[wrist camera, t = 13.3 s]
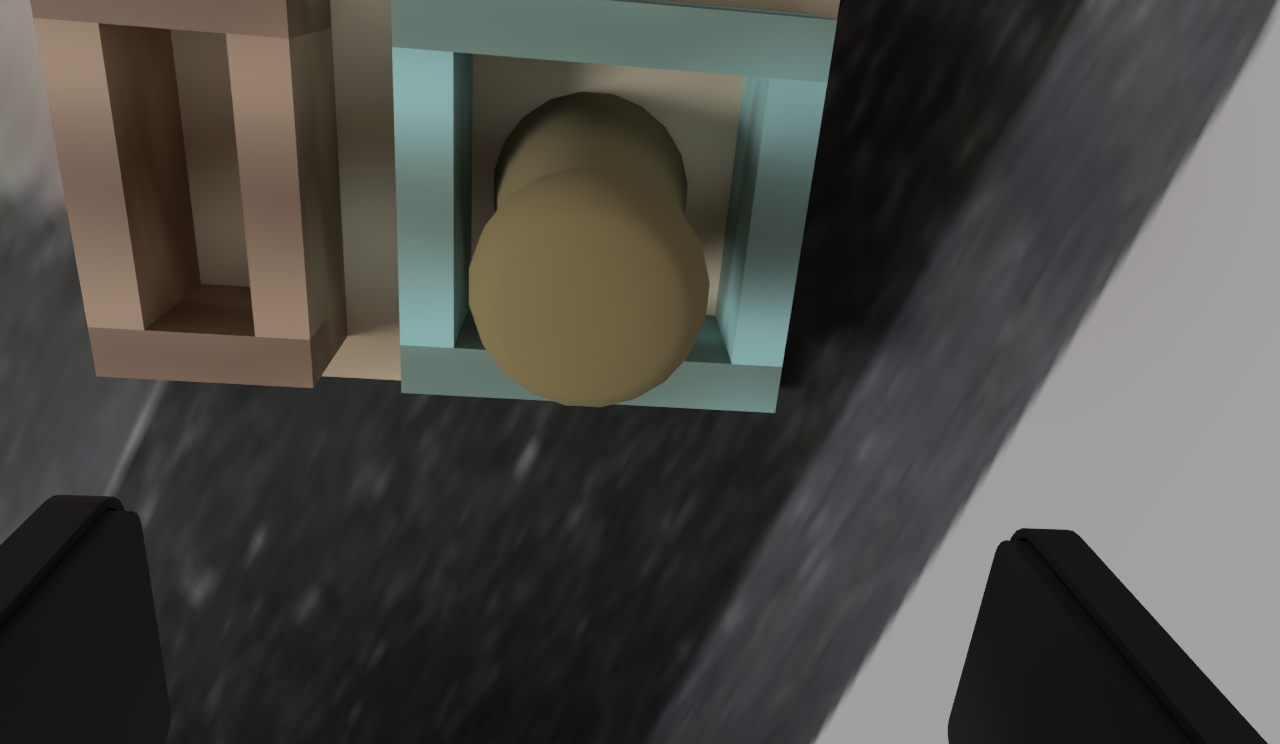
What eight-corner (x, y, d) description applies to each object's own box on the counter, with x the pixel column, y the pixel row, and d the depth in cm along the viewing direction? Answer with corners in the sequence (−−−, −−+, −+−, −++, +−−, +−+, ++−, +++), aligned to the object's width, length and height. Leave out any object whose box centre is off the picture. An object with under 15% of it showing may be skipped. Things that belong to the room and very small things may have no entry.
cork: (477, 262, 29) (416, 420, 19) (512, 69, 27) (462, 133, 17) (661, 302, 30) (695, 472, 20) (710, 117, 28) (776, 207, 17)
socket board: (771, 388, 32) (800, 458, 28) (130, 352, 31) (50, 420, 26) (838, -42, 27) (888, -42, 22) (58, -113, 25) (-61, -130, 21)
